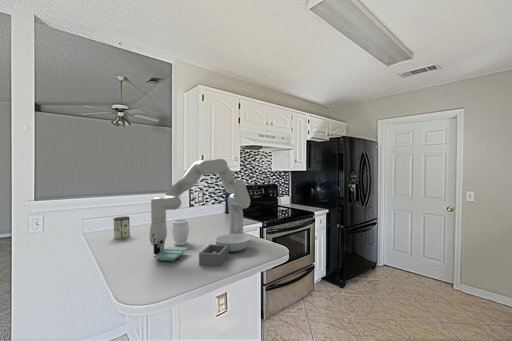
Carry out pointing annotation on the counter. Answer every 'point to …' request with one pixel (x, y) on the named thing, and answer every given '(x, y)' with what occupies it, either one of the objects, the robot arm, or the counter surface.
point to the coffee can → (121, 227)
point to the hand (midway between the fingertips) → (159, 252)
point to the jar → (180, 231)
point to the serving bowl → (233, 241)
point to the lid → (169, 252)
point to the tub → (213, 255)
